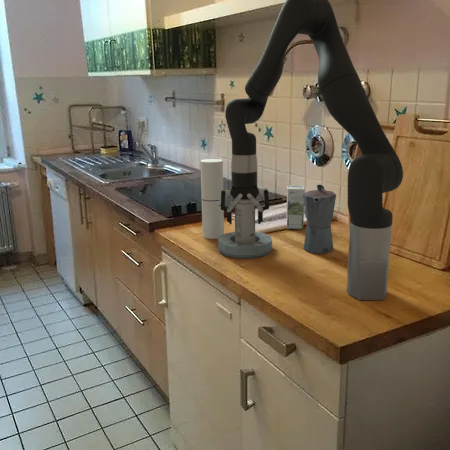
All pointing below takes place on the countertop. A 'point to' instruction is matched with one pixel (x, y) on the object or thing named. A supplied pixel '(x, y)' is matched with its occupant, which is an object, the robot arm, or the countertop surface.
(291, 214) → the syrup box
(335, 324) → the countertop surface
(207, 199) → the cylindrical container
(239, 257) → the blue-grey ring
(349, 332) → the countertop surface
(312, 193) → the moka pot
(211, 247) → the countertop surface
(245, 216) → the energy drink can
